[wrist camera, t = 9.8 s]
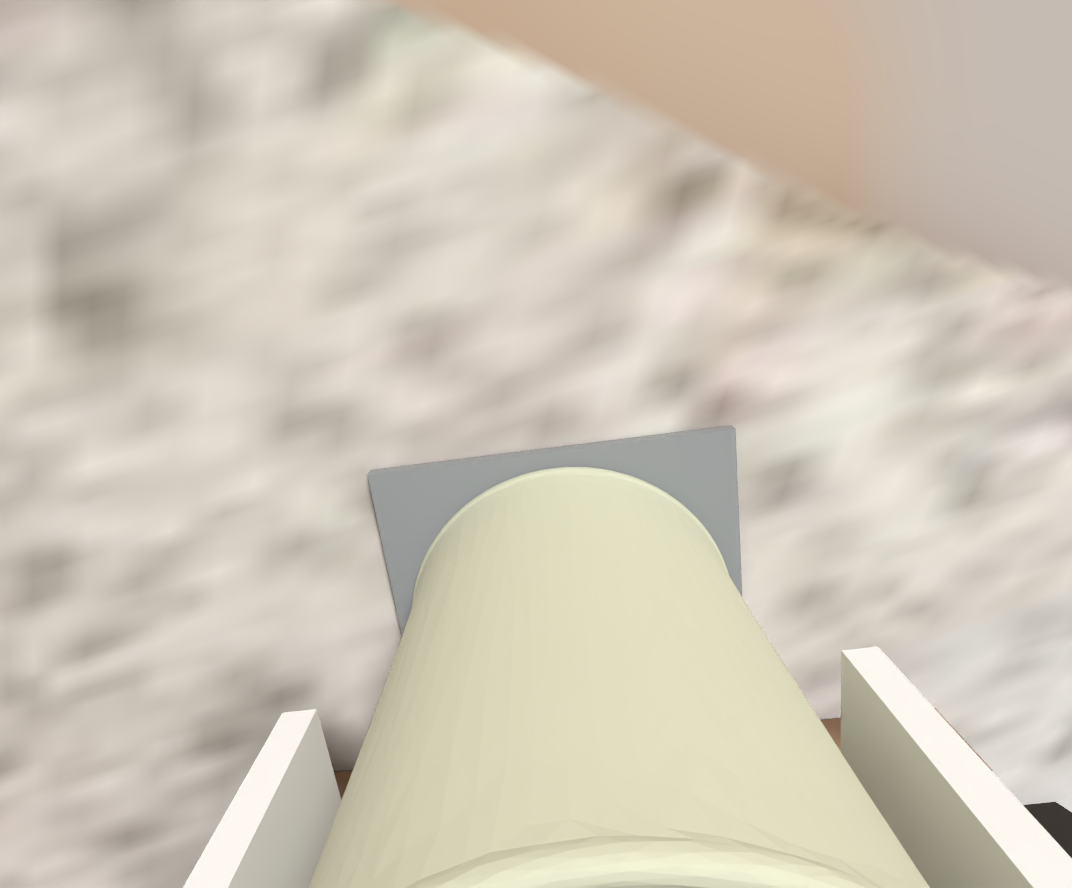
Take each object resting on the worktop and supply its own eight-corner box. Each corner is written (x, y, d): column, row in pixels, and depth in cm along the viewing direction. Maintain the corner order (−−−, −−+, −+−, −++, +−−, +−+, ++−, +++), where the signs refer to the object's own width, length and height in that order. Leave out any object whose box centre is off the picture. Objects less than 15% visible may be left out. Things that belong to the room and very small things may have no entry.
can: (792, 552, 17) (1315, 1124, 6) (631, 787, 19) (772, 1540, 8) (499, 407, 16) (409, 754, 5) (364, 674, 18) (72, 1364, 7)
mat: (433, 761, 20) (431, 771, 19) (370, 469, 17) (367, 474, 17) (743, 728, 19) (747, 737, 19) (730, 425, 17) (735, 429, 16)
